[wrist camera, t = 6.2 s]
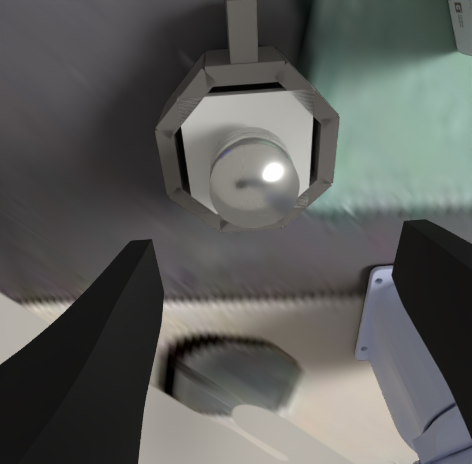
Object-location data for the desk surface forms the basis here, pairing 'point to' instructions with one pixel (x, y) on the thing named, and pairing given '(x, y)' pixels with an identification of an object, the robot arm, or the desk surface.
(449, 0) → the skincare box
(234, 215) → the plunger
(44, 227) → the desk surface
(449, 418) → the robot arm
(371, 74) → the desk surface
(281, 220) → the press
